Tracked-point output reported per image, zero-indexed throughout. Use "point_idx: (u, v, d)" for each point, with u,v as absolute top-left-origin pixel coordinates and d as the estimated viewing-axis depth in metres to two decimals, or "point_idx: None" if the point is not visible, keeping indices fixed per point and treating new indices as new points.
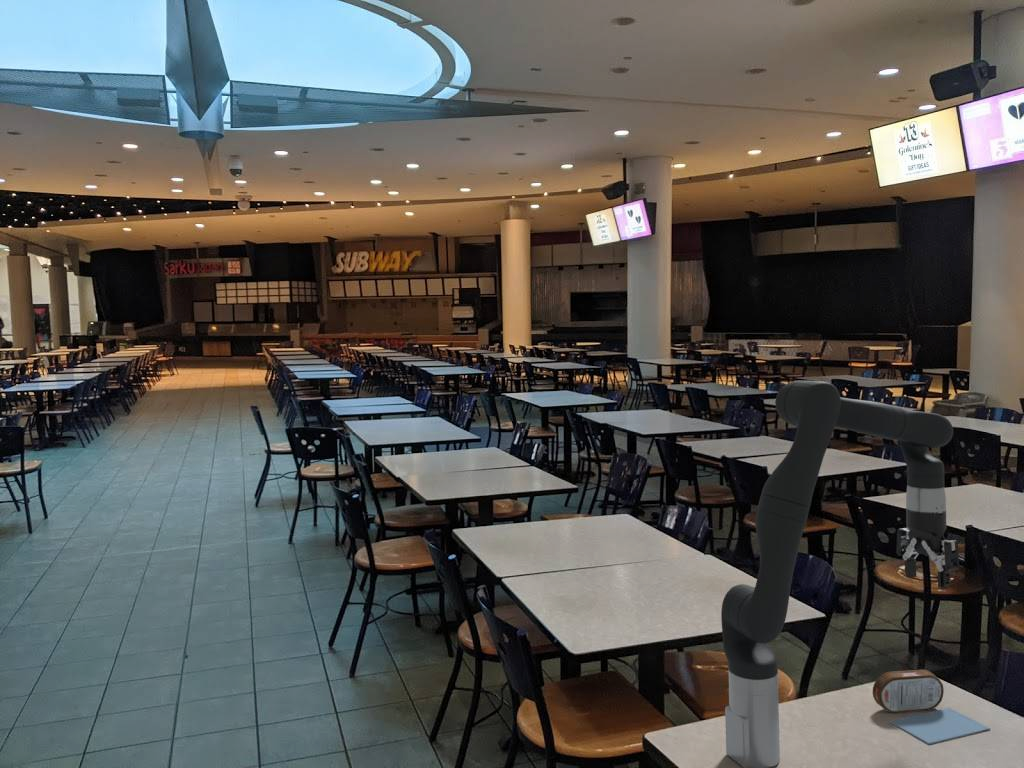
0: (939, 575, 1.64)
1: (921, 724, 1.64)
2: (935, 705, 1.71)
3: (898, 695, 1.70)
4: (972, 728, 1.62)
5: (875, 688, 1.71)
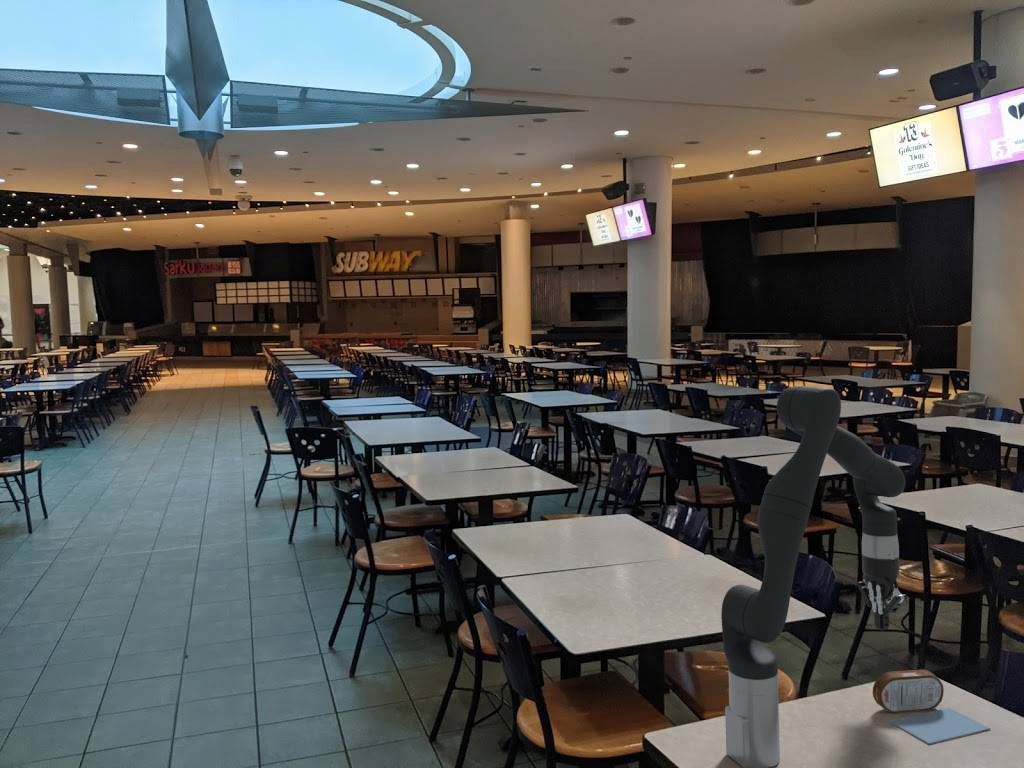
0: (879, 618, 1.77)
1: (921, 724, 1.64)
2: (935, 705, 1.71)
3: (898, 695, 1.70)
4: (972, 728, 1.62)
5: (875, 688, 1.71)
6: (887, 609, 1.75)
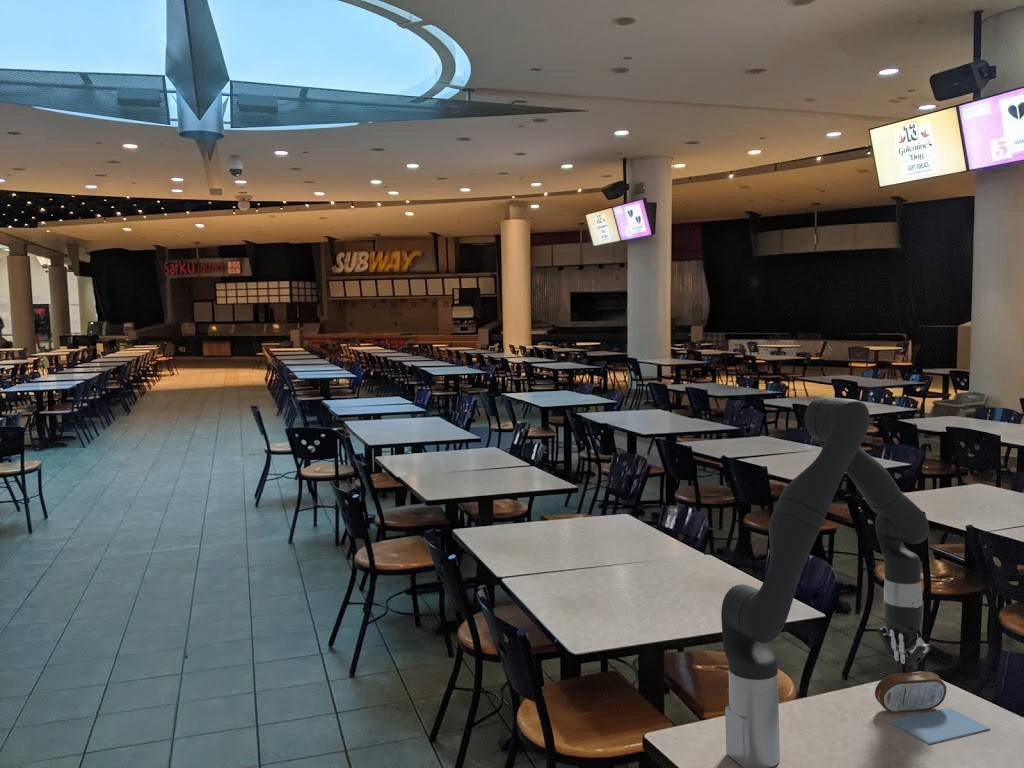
0: (901, 667, 1.72)
1: (921, 724, 1.64)
2: (936, 705, 1.71)
3: (900, 697, 1.69)
4: (972, 728, 1.62)
5: (878, 688, 1.70)
6: (910, 659, 1.69)
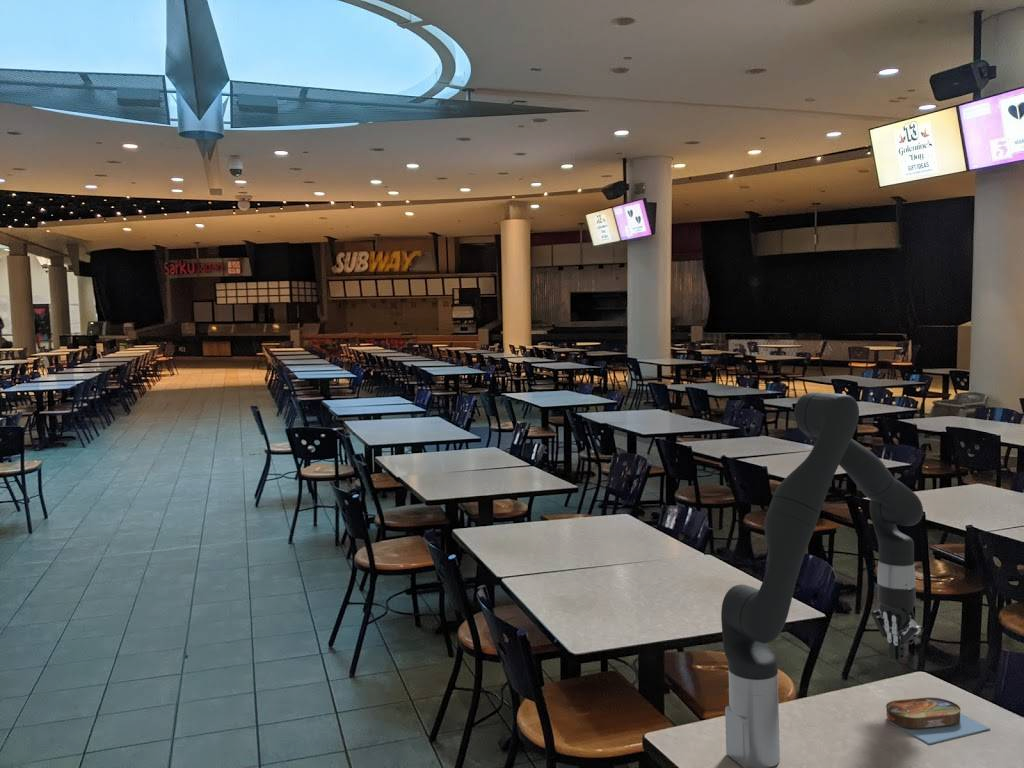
0: (894, 649, 1.73)
1: None
2: None
3: None
4: (972, 728, 1.62)
5: (893, 715, 1.65)
6: (903, 640, 1.71)
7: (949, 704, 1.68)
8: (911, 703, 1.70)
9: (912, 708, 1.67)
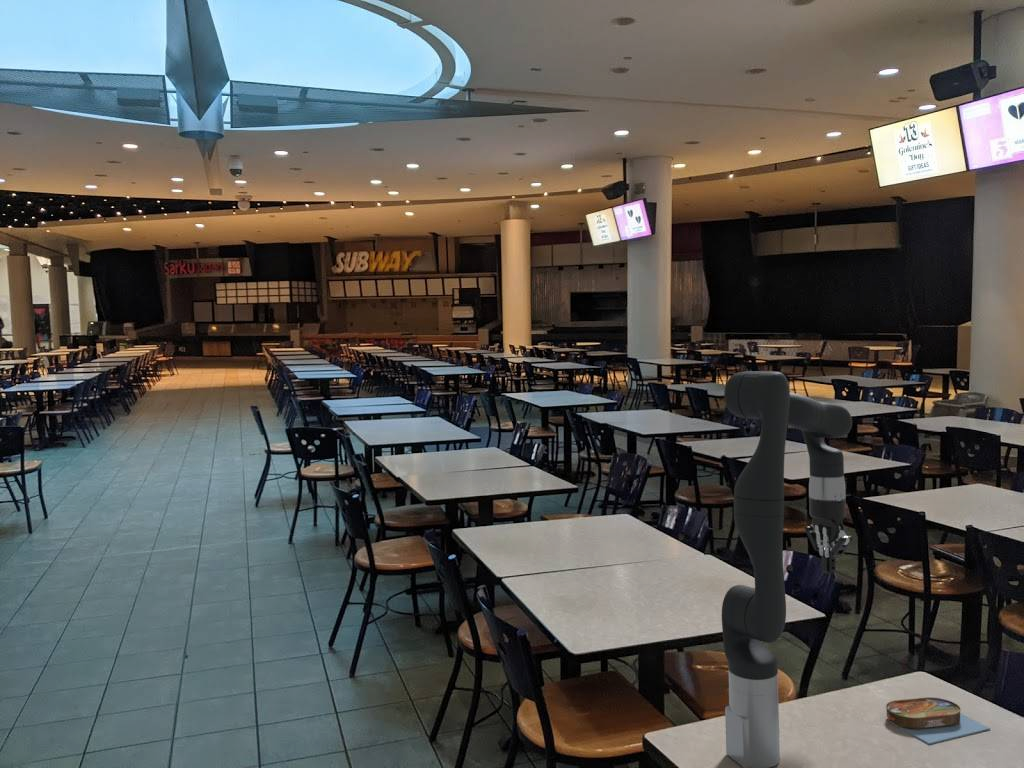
0: (825, 561, 1.75)
1: None
2: None
3: None
4: (972, 728, 1.62)
5: (893, 715, 1.65)
6: (833, 551, 1.73)
7: (949, 704, 1.68)
8: (911, 703, 1.70)
9: (912, 708, 1.67)
